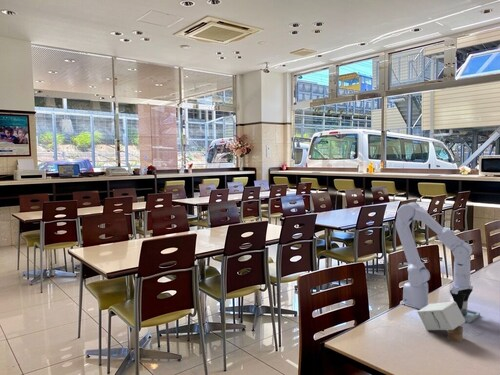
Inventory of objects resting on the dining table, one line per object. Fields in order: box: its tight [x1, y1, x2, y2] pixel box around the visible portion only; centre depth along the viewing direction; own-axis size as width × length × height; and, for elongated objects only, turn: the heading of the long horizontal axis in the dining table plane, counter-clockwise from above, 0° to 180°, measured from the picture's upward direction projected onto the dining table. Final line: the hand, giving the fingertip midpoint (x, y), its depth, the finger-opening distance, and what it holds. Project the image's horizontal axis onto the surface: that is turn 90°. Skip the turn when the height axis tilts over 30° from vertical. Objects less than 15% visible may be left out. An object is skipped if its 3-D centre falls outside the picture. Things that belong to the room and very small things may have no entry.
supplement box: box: [416, 300, 467, 331], centre depth 135 cm, size 7×7×13 cm
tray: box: [463, 308, 481, 324], centre depth 151 cm, size 11×11×1 cm
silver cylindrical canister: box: [460, 300, 469, 315], centre depth 150 cm, size 4×4×5 cm
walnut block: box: [447, 325, 464, 343], centre depth 132 cm, size 4×4×4 cm
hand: (460, 307), depth 151 cm, fingers closed on silver cylindrical canister, 4 cm apart
